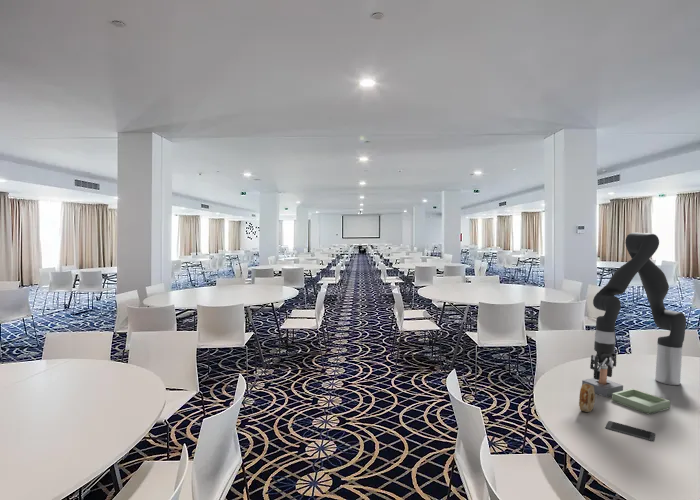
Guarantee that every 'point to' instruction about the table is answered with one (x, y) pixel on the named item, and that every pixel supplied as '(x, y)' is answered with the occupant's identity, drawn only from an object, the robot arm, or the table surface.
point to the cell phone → (630, 431)
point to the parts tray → (641, 401)
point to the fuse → (603, 375)
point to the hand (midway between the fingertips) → (602, 377)
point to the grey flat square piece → (604, 387)
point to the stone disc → (587, 398)
